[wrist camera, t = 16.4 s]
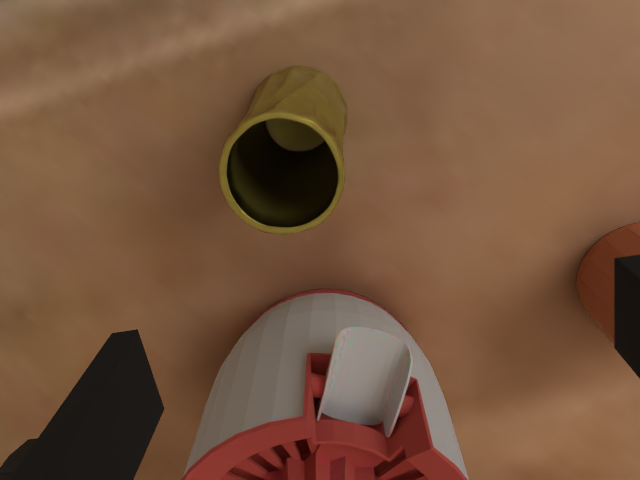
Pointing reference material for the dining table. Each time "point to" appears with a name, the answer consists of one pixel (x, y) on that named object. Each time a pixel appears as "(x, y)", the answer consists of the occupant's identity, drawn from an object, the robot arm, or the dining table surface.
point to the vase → (287, 153)
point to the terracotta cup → (605, 275)
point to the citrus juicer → (326, 400)
